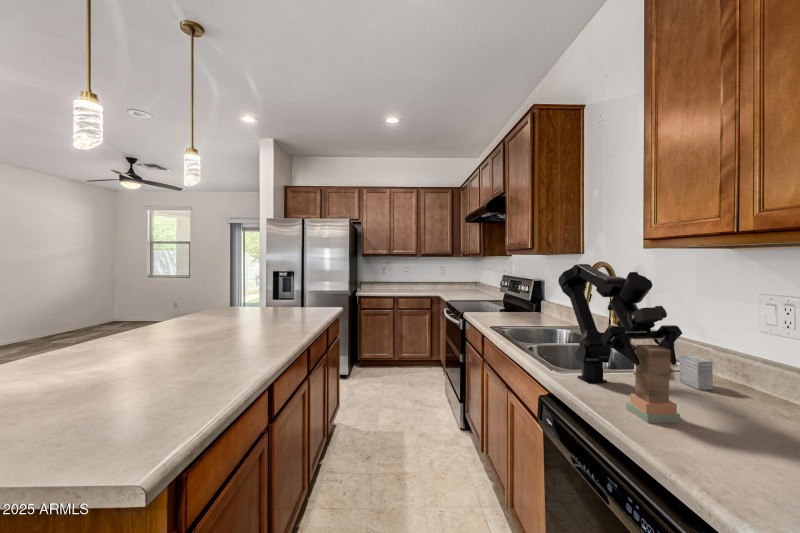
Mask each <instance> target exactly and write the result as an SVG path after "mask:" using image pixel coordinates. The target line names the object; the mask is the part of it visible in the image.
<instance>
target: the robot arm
mask: <svg viewBox="0 0 800 533" xmlns="http://www.w3.org/2000/svg"><path fill="white" fill-rule="evenodd" d="M557 281H558V286H560V288H561V291H562V292H563V294H565V295H566V296H567V297H568V298H569V299H570V302H571V303H570V304H571V305H572V309H573V312H574V315H575V318H576V321H577V324H578V327H579V330H580V333H581V336H580V339H579V342H578V344H579V347H578V348H577V350H576V352H575V353H574V354H575V360H576V361H578V362H579V363H581V375H577V378H578V379H580V380H582V381H584V382H586V383H587V384H600V383H608V380H607V379H604V364H605V363H606V364H608V363H609V362H610V358H611V354H612V349H613V350H614V351H616V352H618V353H619V354H620V355H622V356H624V357H625V358H626V359H627V360H629V361H630V362H632V364H633V365H634V364H635V365H637V366H638V365H639V364H640V362H639V359H638V357H637V355H636V353H637V352H636V351H635V350H634V348H633V346H632V344H631V341H630V340H653V342H654V343H655V344H656V345H658V346H661V347H663V348H666V349H669V350H671V357H670V365H672V366H675V365H676V364H677V359H676V358H677V356H676V350H675V342H676V341H677V340H678V339H679V338H680V337H681V335H683V332H682V330H681V329H680V326H678V325H675V324H674V325H673V324H672V325H671V324H670V325H668V324H666V325H661V326H660V327H659V328H658V329H657V330H652V329H653V328H654V327H655V326H656V324H655V323H657V322H659V321H660V322H662V321H663V320H664V319H665V318H667V316H668V313H667V310H666V309H665V308H664V306H663V305H655V307H654V306H653V307H642V308H639V307H638V306H637V304H639V303H642V301H643V300H644V299H645V297H647V294H649V292H650V291H651V289H652V288H653V283H652V280H650V279H649V278H647V277H646V276H643V275H641V274H639V272H638V271H629V273H628V274H627V277H625V278H624V277H623V276H622V277H621V276H614V275H608V274H606V273H604V272H602V271H600V269H599V270H598V269H596V268H595V267H592V265H591V264H588V263H576V264H574V265H573V266H572V267H571V268H569V269H567V270H564V271H563V272H562V273H561V275H560V276H559V277H558V280H557ZM588 283H589V284H591V285H593V286H594V287H595V288H596V290H595V291H596V293H598V294H599V295H600V296H601V297H603V298H611V300H610V301H609V303H608V306H607V311H613V312H614V314H615V316H616V317H617V320H618V321H617V322H616V325H609V326H607V328H606V329H605V330H604V332H600V331H599V330H598V328H597V326H596V322H595V320H594V317H593V315H592V312H591V308H590V305H589V304H588V301H587V298H586V295H585V291H586V289H587V288H586V287H587V284H588ZM603 363H604V364H603Z"/></svg>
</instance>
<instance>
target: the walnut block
mask: <svg viewBox="0 0 800 533" xmlns="http://www.w3.org/2000/svg"><path fill="white" fill-rule="evenodd" d="M635 353H636V355H637V357H638V359H639V362H640V364H639V365H638V366H637V365H636V375H635V385H634V386H635V387H634V394H635V395H637V396H638V397H640V398H642V399H643V400H645V401H647V402H648V403H662V402H669V400H670V398H669V396H670V376H671V374H670V373H671V363H670V357H671V350H669V349H666V348H663V347H661V346H658V344H636V352H635Z"/></svg>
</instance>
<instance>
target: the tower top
mask: <svg viewBox="0 0 800 533" xmlns="http://www.w3.org/2000/svg"><path fill="white" fill-rule="evenodd" d="M630 402H631V404H633V405H634V406H636V407H637V408H639V409H640V410H642V411H643V412H644V413H646V414H672V415H677V413H678V412H677V411H678V410H677V408H678V407H677V406H678V405H677V403H676V402H673V401H672V400H670V399H669V402H662V403H648V402H647V401H645V400H643V399H642V398H640V397H638V396H637V395H635V392H634V393H630Z"/></svg>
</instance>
